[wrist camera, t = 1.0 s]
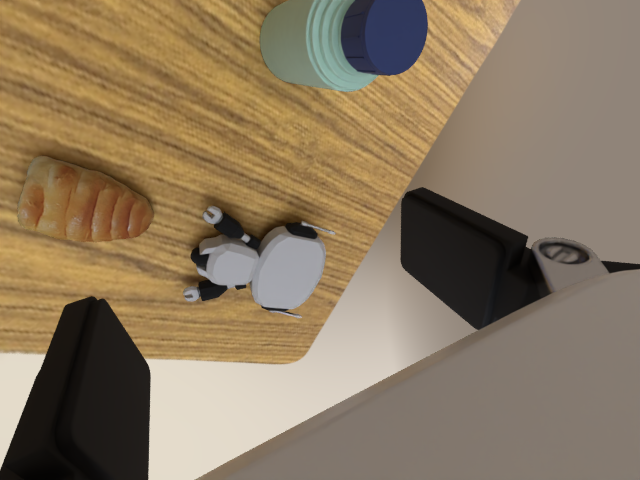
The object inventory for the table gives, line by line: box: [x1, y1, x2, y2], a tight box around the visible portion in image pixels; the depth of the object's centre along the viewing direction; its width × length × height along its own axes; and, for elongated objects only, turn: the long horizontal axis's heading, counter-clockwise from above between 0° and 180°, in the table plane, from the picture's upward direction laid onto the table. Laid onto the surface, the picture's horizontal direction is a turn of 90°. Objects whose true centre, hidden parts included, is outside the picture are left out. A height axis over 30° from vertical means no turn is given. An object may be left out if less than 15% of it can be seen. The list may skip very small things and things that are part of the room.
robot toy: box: [183, 206, 336, 318], centre depth 36 cm, size 12×4×15 cm
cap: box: [341, 0, 428, 76], centre depth 18 cm, size 4×4×3 cm
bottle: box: [260, 0, 378, 92], centre depth 23 cm, size 6×6×16 cm
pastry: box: [18, 156, 154, 242], centre depth 27 cm, size 9×7×4 cm
